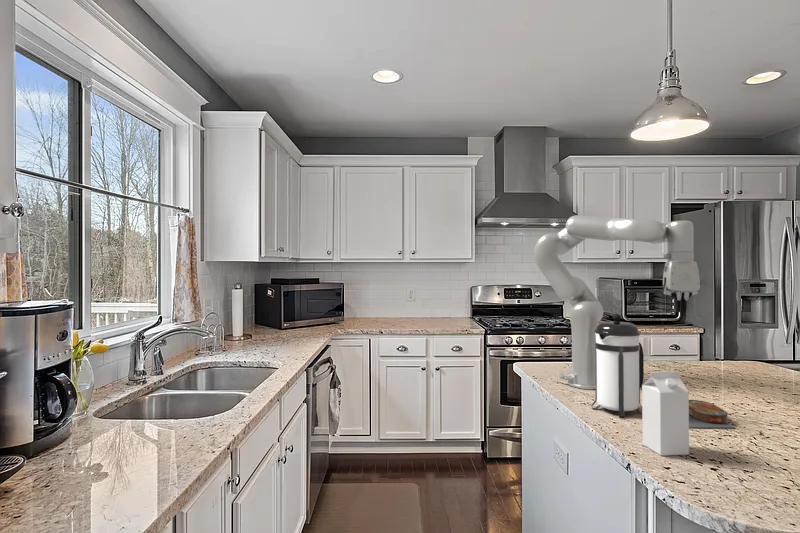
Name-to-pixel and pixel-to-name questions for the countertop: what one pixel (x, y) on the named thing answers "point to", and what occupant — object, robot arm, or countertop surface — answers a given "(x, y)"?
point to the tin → (707, 412)
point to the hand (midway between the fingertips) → (680, 311)
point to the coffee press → (618, 366)
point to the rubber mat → (707, 424)
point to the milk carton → (665, 414)
